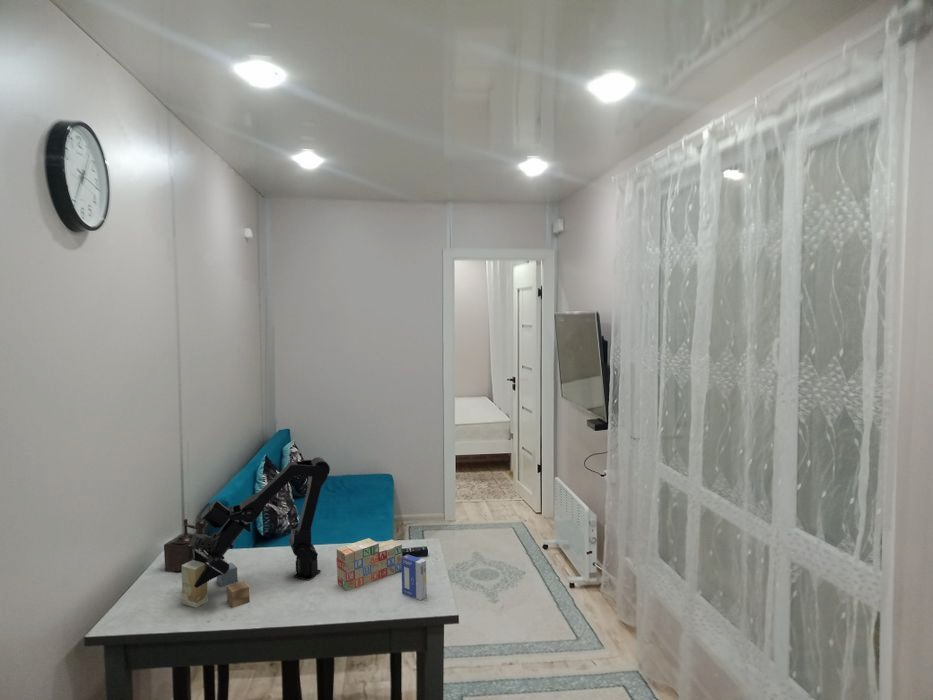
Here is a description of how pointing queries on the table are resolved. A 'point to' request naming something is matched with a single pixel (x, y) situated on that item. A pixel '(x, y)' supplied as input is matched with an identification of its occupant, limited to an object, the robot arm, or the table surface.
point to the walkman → (414, 577)
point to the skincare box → (189, 578)
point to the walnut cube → (238, 594)
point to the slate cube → (228, 576)
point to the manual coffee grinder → (181, 547)
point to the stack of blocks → (367, 562)
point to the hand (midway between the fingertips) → (190, 581)
